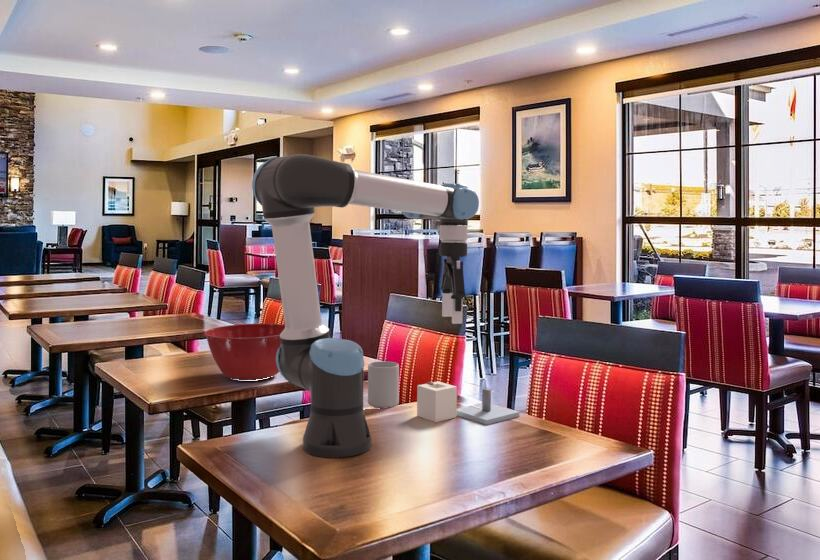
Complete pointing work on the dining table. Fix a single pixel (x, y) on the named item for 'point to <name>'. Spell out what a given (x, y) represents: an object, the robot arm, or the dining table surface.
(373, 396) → the mug
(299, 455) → the dining table surface
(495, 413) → the plate
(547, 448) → the dining table surface
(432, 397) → the cube with square hole
